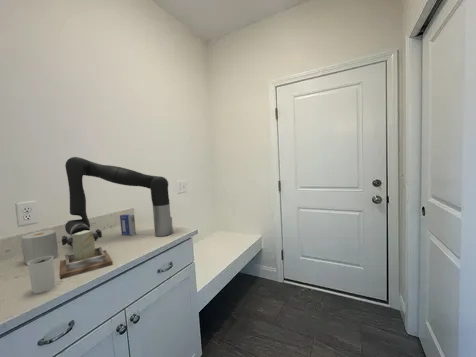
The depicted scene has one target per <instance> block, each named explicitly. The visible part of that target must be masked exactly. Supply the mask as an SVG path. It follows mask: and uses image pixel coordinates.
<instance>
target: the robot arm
mask: <svg viewBox="0 0 476 357" xmlns="http://www.w3.org/2000/svg"><path fill="white" fill-rule="evenodd" d="M64 167H65V171H66V172H65V173H66V176H67V183H68V192H69V193H68V194H69V214H70V215H72V216H77V217H81V219H80V218H78V219H71V220H68V221H67V222H66V223H65V226H64V227H65V228H64V229H65V230H64V231H65V232H66V233H67V235H70V236H66V235H63V236H61V246H65V245H68V246H70V247H73V238H72V234H75V233H78V232H81V231H84V230H91V225H90V220H89V218H88V215H87V214H88V213H87V199H86V198H87V197H86V194H85V193H86V192H85V190H84V186H83V184H84V183H83V177H84V176H88V177H93V178H99V179H101V180H104V181H106V182H110V183H113V184H117V185H122V186H129V187H142V188H147V189H149V190H150V196H151V197H150V199H151V204H152V214H153V216H152V217H153V227H154V235H155V237H167V236H169V235H172V234H174V229H173V217H172V216H171V207H170V206H171V205H170V204H171V203H170V196H169V181H168V179H167V178H166V177H163V176H156V175H152V174H146V173H145V174H144V173H141V172H138V171H135V170H133V169H129V168H125V167H121V166H115V165H109V164H108V165H107V164H101V163H97V162H94V161H90V160H88V159H86V158H82V157H79V156H72V157H69V158H68V159H67V160H66V161H65V166H64ZM93 238H94V242H95V241H98V239H99V238H103V233H102V230H100V229H96V230H95V231H93Z"/></svg>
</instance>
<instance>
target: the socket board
mask: <svg viewBox="0 0 476 357" xmlns="http://www.w3.org/2000/svg"><path fill="white" fill-rule="evenodd" d="M94 248H95V247H94ZM113 264H114V263H113V260H112V258H111V255H109V253H108V252H107V250H106V249H103V248H102V247H101V246H100V247H99V246H98V247H96V248H95V257H93V258H89V259H85V260H81V261H77V262H75V258H74V252H72V253H69V254H65V259H62V260H60V261H59V275H60V276H59V277H60V280H62V279H66V278H70V277H72V276H73V277H74V276H77V275H80V274H83V273H88V272H92V271H94V270H95V271H96V270H99V269H102V268H105V267H108V266H113Z"/></svg>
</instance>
